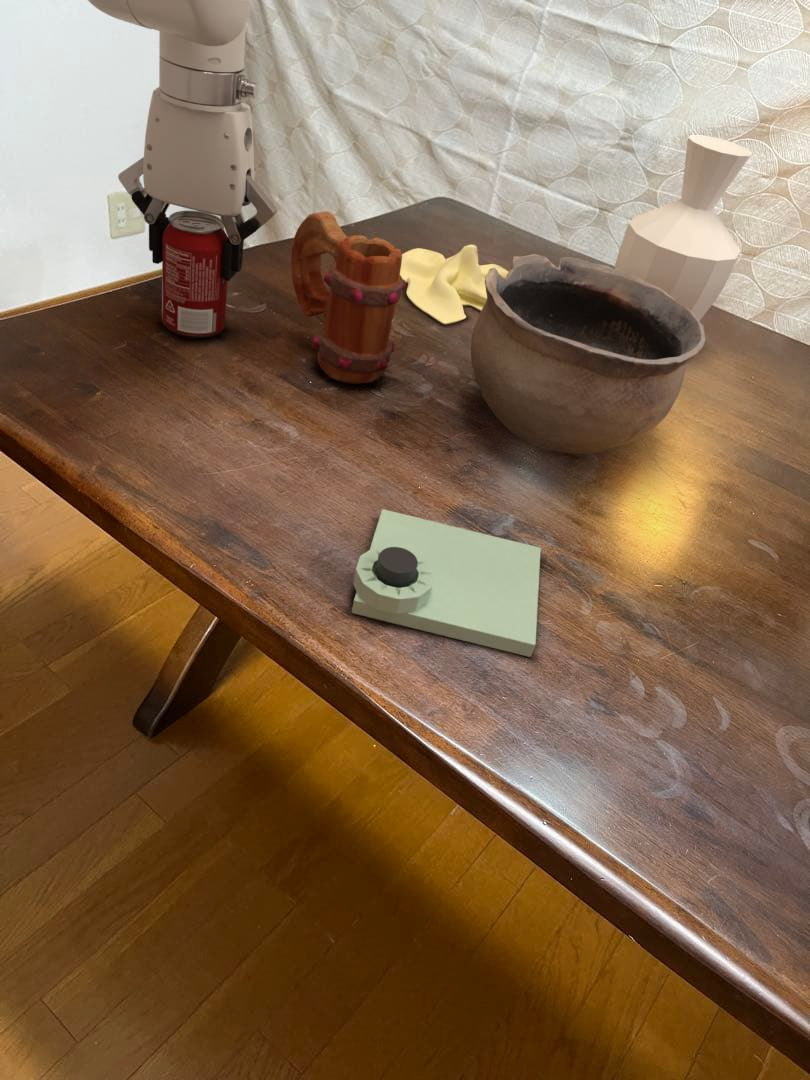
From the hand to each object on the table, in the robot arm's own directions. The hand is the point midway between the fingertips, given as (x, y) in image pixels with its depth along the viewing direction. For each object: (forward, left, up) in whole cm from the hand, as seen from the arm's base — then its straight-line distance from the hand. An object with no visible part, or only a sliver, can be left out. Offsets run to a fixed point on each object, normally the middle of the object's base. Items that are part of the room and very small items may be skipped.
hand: (195, 266), depth 91 cm
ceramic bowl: (+41, -3, -7) cm, 42 cm away
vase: (+53, +27, -7) cm, 60 cm away
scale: (+33, -32, -7) cm, 47 cm away
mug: (+16, 0, -7) cm, 18 cm away
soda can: (0, 0, -7) cm, 7 cm away
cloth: (+27, +28, -7) cm, 40 cm away
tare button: (+29, -36, -5) cm, 46 cm away
